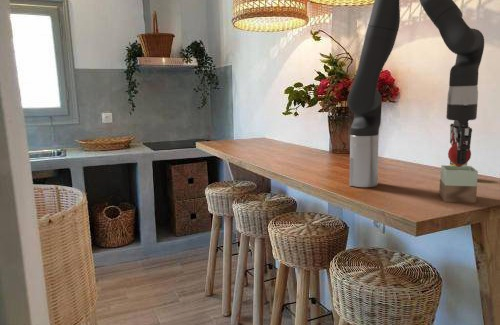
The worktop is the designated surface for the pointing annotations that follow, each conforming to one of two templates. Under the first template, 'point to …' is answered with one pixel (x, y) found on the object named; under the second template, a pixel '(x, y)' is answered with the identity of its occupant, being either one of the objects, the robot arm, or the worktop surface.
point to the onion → (453, 154)
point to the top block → (459, 175)
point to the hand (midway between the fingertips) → (458, 161)
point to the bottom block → (458, 193)
